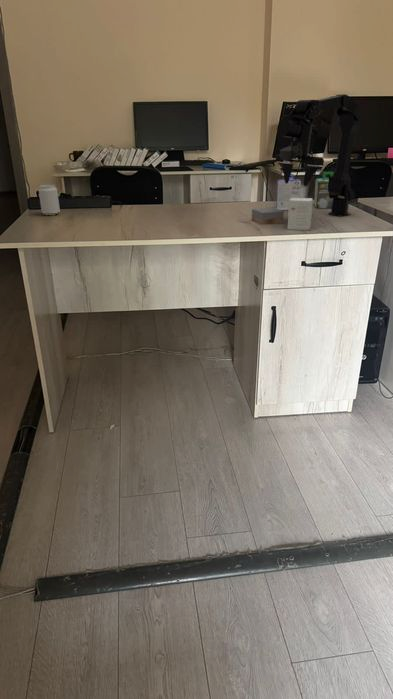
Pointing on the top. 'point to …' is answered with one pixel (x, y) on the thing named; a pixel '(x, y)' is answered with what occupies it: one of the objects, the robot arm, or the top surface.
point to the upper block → (267, 213)
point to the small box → (300, 213)
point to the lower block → (267, 220)
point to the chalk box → (323, 192)
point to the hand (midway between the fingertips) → (295, 184)
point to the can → (49, 199)
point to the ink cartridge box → (287, 192)
